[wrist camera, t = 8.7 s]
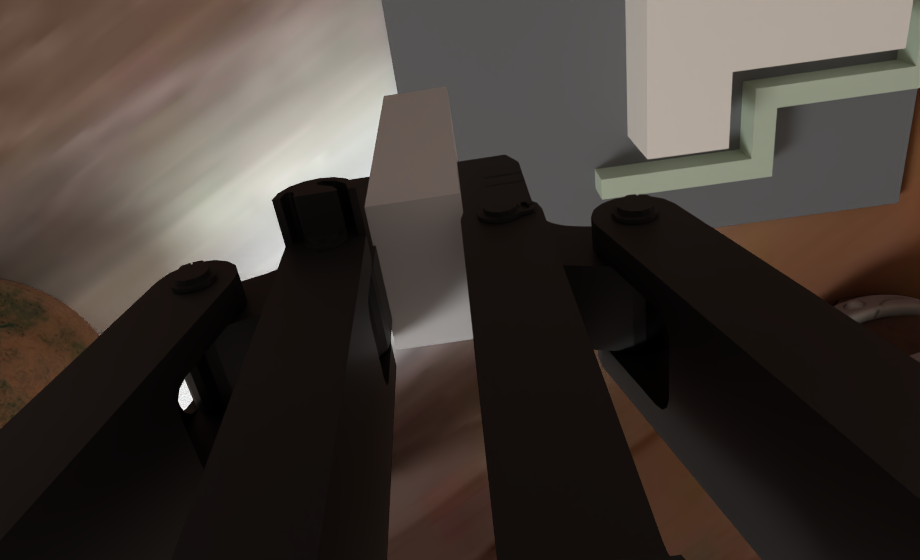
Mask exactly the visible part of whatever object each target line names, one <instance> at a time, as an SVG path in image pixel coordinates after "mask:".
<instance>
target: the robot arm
mask: <svg viewBox="0 0 920 560" xmlns="http://www.w3.org/2000/svg"><path fill="white" fill-rule="evenodd" d="M272 202H273V205H274V209H275V212H276V215H277V219H278V222H279V226H280V229H281V232H282V236H283V239H284V243H285V246H286V248H285V250H284V253H283V256H282V258H281V261H280V264H279V267H278V269H277V270H275V271H272V272H270V273H267V274H264V275H261V276H258V277H254V278H251V279H248V280H245V281H241V280H240V277H239V274H238V271H237V268H236V265H234V264H232V263H230V262H228V261H218V260H213V261H205V262H204V261H197V262H192V263H193V264H191V263H189V264H186V265H183V266H181V267H180V268H179V269H178V270H176V271H174V272H171V273H169V274H168V275H166V276H165V277H163V278H162V279H161V280H159V281H158V282H157V283H155V284H154V285H153V286H152V287H151V288H150V289H149V290H148V291H147V292H146V293H145V294H144V295H143V296H142V297H141V298H139V299H138V300H137V301H136V302H135V303H134V304H133V305H132V306H131V307H130V308H129V309H128V310H127V311H126V312H125V313H123V314H122V315H121V316H120V317H119V318H118V319H117V320H116V321H115V322H114V323H113V324H112V325H111V326H110V327H109V328H107V329H106V330H105V331H104V332H103V333H102V334H101V335H100V336H99V337H98V338H97V339H96V340H95V341H94V342H93V343H91V344H90V345H89V346H88V347H87V348H86V349H85V350H84V351H83V352H82V353H81V354H80V355H79V356H78V357H76V358H75V359H74V360H73V361H72V362H71V363H70V364H69V365H68V366H67V367H66V368H65V369H64V370H63V371H62V372H60V373H59V374H58V375H57V376H56V377H55V378H54V379H53V380H52V381H51V382H50V383H49V384H48V385H47V386H46V387H44V388H43V389H42V390H41V391H40V392H39V393H38V394H37V395H36V396H35V397H34V398H33V399H32V400H31V401H30V402H28V403H27V404H26V405H25V406H24V407H23V408H22V409H21V410H20V411H19V412H18V413H17V414H16V415H15V416H14V417H12V418H11V419H10V420H9V421H8V422H7V423H6V424H5V425H4V426H3V427H2V428H1V429H0V560H387V549H388V529H389V508H390V487H391V466H392V445H393V424H394V403H395V382H396V363H395V358H394V354H393V350H392V345H391V330H392V332H393V336H394V341H395V345H396V350H400V349H407V348H414V347H421V346H428V345H435V344H442V343H449V342H456V341H463V340H470V339H473V341H474V350H475V359H476V369H477V378H478V387H479V397H480V406H481V415H482V424H483V434H484V443H485V452H486V461H487V471H488V480H489V489H490V499H491V508H492V517H493V526H494V536H495V545H496V554H497V560H685V559H684V558H683V556H682V555H676V556H670V555H669V554H668V553H667V550H666V548H665V546H664V543H663V541H662V538H661V535H660V533H659V530H658V527H657V524H656V522H655V519H654V516H653V513H652V510H651V508H650V505H649V502H648V499H647V497H646V494H645V491H644V488H643V486H642V483H641V480H640V477H639V475H638V472H637V469H636V466H635V463H634V461H633V458H632V455H631V452H630V450H629V447H628V444H627V441H626V439H625V436H624V433H623V430H622V428H621V425H620V422H619V419H618V417H617V414H616V411H615V408H614V405H613V403H612V400H611V397H610V394H609V392H608V389H607V386H606V383H605V381H604V378H603V375H602V372H601V370H600V367H599V364H598V361H597V358H596V356H595V353H594V350H598V357H599V360H600V362H601V364H602V366H603V367H604V369H605V370H606V371H607V372H608V374H609V375H610V376H611V377H612V378H613V380H614V381H615V382H616V383H617V384H618V386H619V387H620V388H621V389H622V390H623V392H624V393H625V394H626V395H627V397H628V398H629V399H630V400H631V401H632V403H633V404H634V405H635V406H636V407H637V409H638V410H639V411H640V412H641V414H642V415H643V416H644V417H645V418H646V420H647V421H648V422H649V423H650V424H651V426H652V427H653V428H654V429H655V430H656V432H657V433H658V434H659V435H660V437H661V438H662V439H663V440H664V441H665V443H666V444H667V445H668V446H669V447H670V449H671V450H672V451H673V452H674V454H675V455H676V456H677V457H678V458H679V460H680V461H681V462H682V463H683V464H684V466H685V467H686V468H687V469H688V470H689V472H690V473H691V474H692V475H693V477H694V478H695V479H696V480H697V481H698V483H699V484H700V485H701V486H702V487H703V489H704V490H705V491H706V492H707V494H708V495H709V496H710V497H711V498H712V500H713V501H714V502H715V503H716V504H717V506H718V507H719V508H720V509H721V510H722V512H723V513H724V514H725V515H726V517H727V518H728V519H729V520H730V521H731V523H732V524H733V525H734V526H735V527H736V529H737V530H738V531H739V532H740V534H741V535H742V536H743V537H744V538H745V540H746V541H747V542H748V543H749V544H750V546H751V547H752V548H753V549H754V550H755V552H756V553H757V554H758V555H759V557H760V558H761V559H762V560H920V362H918V361H917V360H915V359H914V358H912V357H910V356H909V355H907V354H906V353H904V352H903V351H901V350H900V349H898V348H897V347H895V346H894V345H892V344H890V343H889V342H887V341H886V340H884V339H883V338H881V337H880V336H878V335H877V334H875V333H874V332H872V331H871V330H869V329H867V328H866V327H864V326H863V325H861V324H860V323H858V322H857V321H855V320H854V319H852V318H851V317H849V316H847V315H846V314H844V313H843V312H841V311H840V310H838V309H837V308H835V307H834V306H832V305H831V304H829V303H827V302H826V301H824V300H823V299H821V298H820V297H818V296H817V295H815V294H814V293H812V292H811V291H809V290H807V289H806V288H804V287H803V286H801V285H800V284H798V283H797V282H795V281H794V280H792V279H791V278H789V277H787V276H786V275H784V274H783V273H781V272H780V271H778V270H777V269H775V268H774V267H772V266H771V265H769V264H767V263H766V262H764V261H763V260H761V259H760V258H758V257H757V256H755V255H754V254H752V253H751V252H749V251H747V250H746V249H744V248H743V247H741V246H740V245H738V244H737V243H735V242H734V241H732V240H731V239H729V238H727V237H726V236H724V235H723V234H721V233H720V232H718V231H717V230H715V229H714V228H712V227H711V226H709V225H707V224H706V223H704V222H703V221H701V220H700V219H698V218H697V217H695V216H694V215H692V214H691V213H689V212H688V211H686V210H684V209H683V208H681V207H680V206H678V205H677V204H675V203H673V202H671V201H668V200H666V199H664V198H658V197H652V196H649V195H647V194H639V195H638V196H636V194H632V195H626V196H625V197H621V198H615V199H612V200H610V201H607V202H604V203H602V204H600V205H599V206H598V207H596V208H595V209H594V210H593V212H592V215H591V226H565V225H560V224H554V223H551V222H549V221H547V220H546V218H545V215H544V212H543V209H542V208H541V206H540V205H539V204H538V203H537V202H534V201H532V199H531V197H530V194H529V191H528V188H527V185H526V182H525V179H524V176H523V174H522V170H521V168H520V165H519V162H518V161H516V160H514V159H513V158H511V157H509V156H507V155H498V156H492V157H485V158H478V159H472V160H465V161H458V158H457V152H456V145H455V138H454V132H453V125H452V118H451V111H450V105H449V98H448V91H447V87H440V88H434V89H427V90H421V91H414V92H408V93H401V94H395V95H388V96H384V99H383V105H382V110H381V116H380V122H379V127H378V133H377V139H376V144H375V150H374V156H373V161H372V167H371V173H370V177H365V178H358V179H352V180H348V179H346V178H336V177H331V178H319V179H314V180H310V181H305V182H302V183H299V184H296V185H293V186H291V187H288V188H287V189H285V190H283V191H281V192H280V193H278V194H277V195H276V196H275V197H274V198H273V200H272ZM593 349H594V350H593ZM184 379H185V381H186V383H187V386H188V388H189V391H190V393H191V395H192V398H193V401H192V402H191V404H190V405H189V406H188V407H187V409H185V410H184V411H183V409H182V408H181V407H180V405H179V403H178V395H179V389H180V387H181V385H182V383H183V381H184Z"/></svg>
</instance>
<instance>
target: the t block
mask: <svg viewBox="0 0 920 560" xmlns="http://www.w3.org/2000/svg"><path fill="white" fill-rule="evenodd" d="M912 5H913V0H625V14H626V70H627V126H628V137H629V138H630V139H631V141H632V142H633V143H634V144H635V145H636V147H637V148H638V149H639V150H640V151H641V152H642V154H643V155H644V156H645V157H646V158H647V159H654V158H662V157H669V156H677V155H684V154H692V153H699V152H707V151H714V150H722V149H729V134H730V115H731V95H732V75H733V72H737V71H744V70H751V69H758V68H766V67H773V66H780V65H788V64H795V63H802V62H809V61H817V60H824V59H831V58H838V57H846V56H853V55H860V54H868V53H875V52H882V51H889V50H897V49H904V48H906V43H907V37H908V30H909V24H910V18H911V12H912Z"/></svg>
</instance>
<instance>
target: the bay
mask: <svg viewBox="0 0 920 560" xmlns="http://www.w3.org/2000/svg"><path fill="white" fill-rule="evenodd" d="M916 88H920V0H913V5H912V12H911V18H910V24H909V30H908V37H907V43H906V48H904V49H898V53H897V60H891V61H884V62H876V63H869V64H862V65H855V66H848V67H841V68H834V69H827V70H820V71H813V72H806V73H799V74H792V75H785V76H778V77H771V78H764V79H756V80H749V81H743V92H742V111H741V129H740V148H739V149H737V150H730V151H723V152H715V153H708V154H701V155H694V156H687V157H679V158H672V159H665V160H658V161H651V162H643V163H636V164H629V165H622V166H615V167H607V168H600V169H595V186H596V190H597V192H598V194H599V195H600V197H601V199H602V200H604V199H611V198H618V197H625V196H626V195H632V194H636V195H639V194H647V193H654V192H662V191H669V190H676V189H684V188H691V187H698V186H705V185H713V184H720V183H727V182H735V181H742V180H749V179H756V178H764V177H771V176H772V169H773V156H774V143H775V130H776V117H777V108H781V107H788V106H795V105H802V104H809V103H816V102H823V101H831V100H838V99H845V98H852V97H859V96H866V95H873V94H880V93H888V92H895V91H902V90H909V89H916Z"/></svg>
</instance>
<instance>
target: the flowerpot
mask: <svg viewBox="0 0 920 560" xmlns="http://www.w3.org/2000/svg"><path fill="white" fill-rule="evenodd" d="M834 307H835V308H837V309H838V310H840V311H841V312H843V313H844V314H846V315H847V316H849V317H851V318H852V319H854V320H855V321H857V322H858V323H860V324H861V325H863V326H864V327H866V328H867V329H869V330H871V331H872V332H874V333H875V334H877V335H878V336H880V337H881V338H883V339H884V340H886V341H887V342H889V343H890V344H892V345H894V346H895V347H897V348H898V349H900V350H901V351H903V352H904V353H906V354H907V355H909V356H910V357H912V358H914V359H915V360H917V361H918V362H920V299H917V298H913V297H908V296H902V295H868V296H860V297H852V298H845V299H841V300H839V301H838V303H837V305H835V306H834Z"/></svg>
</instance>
